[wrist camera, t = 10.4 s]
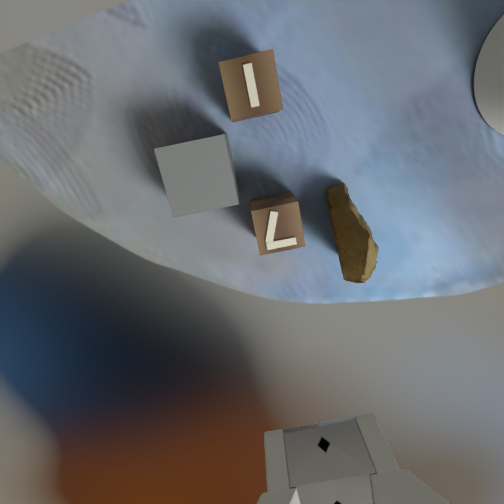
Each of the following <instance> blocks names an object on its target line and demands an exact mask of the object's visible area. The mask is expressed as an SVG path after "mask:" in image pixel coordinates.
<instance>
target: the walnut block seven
mask: <svg viewBox="0 0 504 504" xmlns="http://www.w3.org/2000/svg"><path fill="white" fill-rule="evenodd" d="M250 206H251V214H252V219H253V224H254V229H255V233H256V238H257V243H258V247H259V252H260V255H265V254H270V253H275V252H280V251H285V250H290V249H295V248H300V247H305V240H304V234H303V228H302V222H301V215H300V209H299V203H298V201H297V199H296V198H295V197H294V195H293V194H292V193H291V192H287V193H283V194H278V195H273V196H268V197H263V198H259V199H254V200H250Z"/></svg>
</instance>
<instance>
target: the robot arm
mask: <svg viewBox="0 0 504 504" xmlns="http://www.w3.org/2000/svg"><path fill="white" fill-rule="evenodd" d="M474 93H475V99H476V103H477V106H478V109H479V111H480V113H481V115H482V117H483V118H484V120H485V121H486V122H487V123H488V125H489V126H490V127H492V128H493V129H494V130H495V131H497V132H499V133H500V134H502V135H504V15H503V16H502V17H501V18H500V19H499V20H498V21H497V23H496V24H495V25H494V27H493V28H492V30H491V31H490V33H489V34H488V36H487V38H486V40H485V42H484V44H483V46H482V48H481V51H480V54H479V56H478V60H477V64H476V68H475V75H474ZM264 441H265V458H266V474H267V488H268V489H267V490H268V492H267V493H263V494H262V495H261V497H260V499H259V500H258V503H257V504H450V503H449V502H447V501H446V500H445V499H444V498H443V497H441V496H440V495H439V494H437V493H436V492H435V491H434V490H432V489H431V488H430V487H428V486H427V485H426V484H425V483H423V482H422V481H421V480H419V479H418V478H417V477H415V476H414V475H413V474H412V473H410V472H409V471H408V470H400V469H399V467H398V464H397V462H396V460H395V458H394V456H393V454H392V451H391V449H390V447H389V445H388V443H387V441H386V438H385V436H384V434H383V432H382V430H381V428H380V426H379V423H378V421H377V419H376V417H375V416H374V415H373V414H366V415H360V416H355V417H348V418H343V419H338V420H332V421H327V422H322V423H318V424H313V425H307V426H300V427H293V428H286V429H281V430H275V431H269V432H265V436H264Z"/></svg>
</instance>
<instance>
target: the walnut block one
mask: <svg viewBox="0 0 504 504" xmlns="http://www.w3.org/2000/svg"><path fill="white" fill-rule="evenodd" d="M218 63H219V67H220V72H221V76H222V81H223V85H224V90H225V94H226V99H227V104H228V108H229V113H230V117H231V121H232V122H237V121H241V120H245V119H250V118H254V117H259V116H263V115H267V114H272V113H276V112H278V111H280V110H281V109H283V106H282V100H281V94H280V88H279V82H278V76H277V70H276V64H275V58H274V53H273V49H271V50H267V51H263V52H258V53H254V54H250V55H246V56H242V57H238V58H234V59H229V60H225V61H221V62H218Z"/></svg>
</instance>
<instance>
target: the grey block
mask: <svg viewBox="0 0 504 504" xmlns="http://www.w3.org/2000/svg"><path fill="white" fill-rule="evenodd" d="M154 152H155V155H156V159H157V162H158V166H159V169H160V173H161V176H162V180H163V183H164V187H165V190H166V194H167V197H168V201H169V204H170V208H171V211H172V215H173V218H174V217H179V216H184V215H189V214H194V213H199V212H204V211H209V210H214V209H219V208H224V207H229V206H234V205H239V198H240V193H239V188H238V184H237V179H236V174H235V169H234V165H233V160H232V155H231V150H230V145H229V141H228V136H227V134H222V135H218V136H213V137H208V138H203V139H198V140H194V141H189V142H184V143H179V144H175V145H170V146H165V147H160V148H156V149H154Z"/></svg>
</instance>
